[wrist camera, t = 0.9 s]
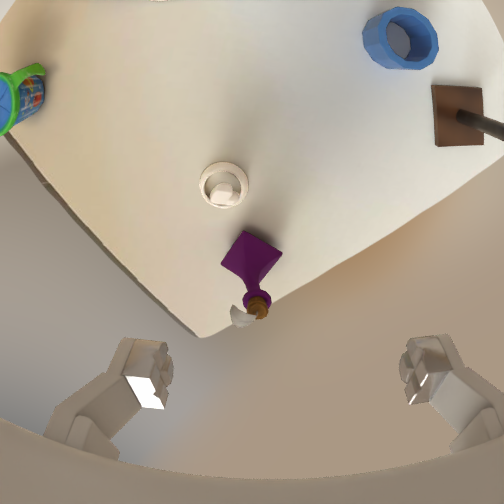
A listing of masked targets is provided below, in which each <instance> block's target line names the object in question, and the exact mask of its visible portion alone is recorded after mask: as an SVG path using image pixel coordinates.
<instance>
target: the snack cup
mask: <svg viewBox="0 0 504 504" xmlns="http://www.w3.org/2000/svg"><path fill="white" fill-rule="evenodd" d="M36 74H38V75H45V74H46V73H45V70H44V68H43V67H42V65H41V64H39V63H35V64H33V65H30V66H28V67H25V68H23V69H20V70H18V71H16V72H14V73H13V74H8V73H4V72H0V136H2V135H4V134H5V133H6V132H8V131H9V130H10V129H11V128H12V127H13V126H14V125H16V124H18V123H20V122H21V121H23V120H24V119H26V118H28V117H29V116H31V115H33V114H34V113H35V112H37V110H38V109H39V108H40V106H41V104H42V103H43V101H44V88H43V82H42V81H41V80H40V79H39V78H38V77H36V76H34V75H36Z"/></svg>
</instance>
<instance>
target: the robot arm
mask: <svg viewBox="0 0 504 504" xmlns="http://www.w3.org/2000/svg"><path fill="white" fill-rule="evenodd" d="M150 1H167V0H150ZM406 347H407V351H406V352H405V353H403V354H402V356H401V359H400V364H399V371H400V376H401V380H403V381H404V382H405V383H406V384H407V385H406V388H405V393H406V396H407V399H408V403H409V405H411V404H418V403H424V402H430V404H431V405H432V406H433V407H434V408H435V409H436V410H437V411H438V412H439V414H440V415H441V416H442V417H443V418H444V419H445V420H446V421H447V422H448V423H449V424H450V425H451V426H452V427H453V428H454V429H455V431H456V432H457V433H459V435H458V436H457V437H456V438H455V439H454V440H453V441H452V442H451V444H450V450H451V454H448V455H445V456H442V457H438V458H435V459H431V460H427V461H423V462H419V463H414V464H410V465H406V466H401V467H396V468H391V469H385V470H380V471H374V472H368V473H360V474H353V475H345V476H335V477H323V478H308V479H238V478H223V477H211V476H202V475H193V474H185V473H178V472H172V471H166V470H160V469H155V468H149V467H144V466H140V465H135V464H130V463H126V462H122V461H118V458H119V454H120V452H119V450H118V449H117V448H116V447H115V446H114V444H113V443H112V442H111V441H110V439H111V438H112V437H113V436H114V435H115V434H116V433H117V432H118V431H119V430H120V429H121V428H122V427H123V426H124V425H125V424H126V423H127V422H128V421H129V420H130V419H131V418H132V417H133V416H134V415H135V414H136V413H137V412H138V411H139V410H140V409H141V408H142V407H150V408H159V409H164V408H165V405H166V401H167V397H168V391H167V389H166V387H167V386H168V385H169V384H171V382H172V378H173V361H172V359H171V357H170V356H169V355H168V354H167V352H168V347H167V344H166V342H162V341H152V340H143V339H134V338H123V339H122V340H121V342H120V343H119V345H118V348H117V350H116V352H115V355H114V357H113V359H112V361H111V364H110V366H109V368H108V370H107V372H106V373H101V374H100V375H99V376H97V377H96V378H95V379H93V380H92V381H90V382H89V383H88V384H86V385H85V386H84V387H82V388H81V389H79V390H78V391H77V392H75V393H74V394H73V395H71V396H70V397H68V398H67V399H66V400H64V401H63V402H62V403H60V404H59V405H58V406H56V407H55V410H54V412H53V414H52V416H51V418H50V420H49V423H48V425H47V427H46V430H45V432H44V434H43V436H40V435H38V434H35V433H33V432H31V431H28V430H26V429H24V428H21V427H19V426H17V425H15V424H12V423H10V422H8V421H6V420H4V419H2V418H0V504H504V393H502V392H501V391H500V390H498V389H497V388H496V387H495V386H493V385H492V384H491V383H489V382H488V381H487V380H485V379H484V378H482V377H481V376H480V375H479V374H477V373H476V372H475V371H473V370H472V369H470V368H469V367H465V366H464V364H463V362H462V359H461V357H460V355H459V353H458V351H457V349H456V347H455V345H454V343H453V341H452V339H451V337H450V336H449V335H448V334H442V335H435V336H434V335H433V336H425V337H417V338H410V339H409V340H408V342H407V345H406ZM141 406H142V407H141Z"/></svg>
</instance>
